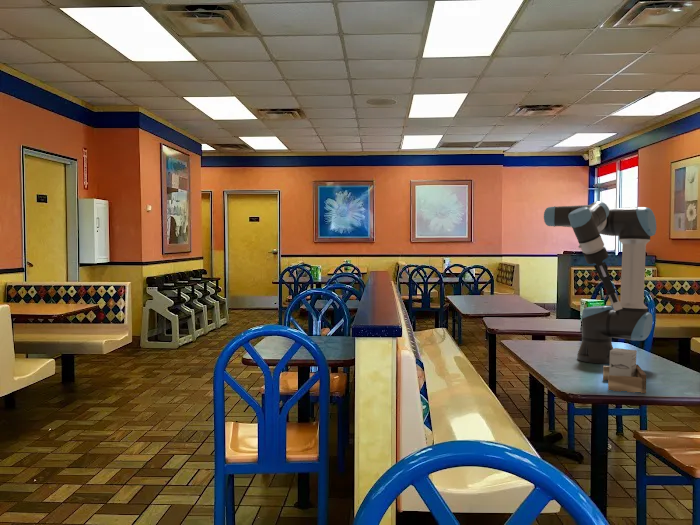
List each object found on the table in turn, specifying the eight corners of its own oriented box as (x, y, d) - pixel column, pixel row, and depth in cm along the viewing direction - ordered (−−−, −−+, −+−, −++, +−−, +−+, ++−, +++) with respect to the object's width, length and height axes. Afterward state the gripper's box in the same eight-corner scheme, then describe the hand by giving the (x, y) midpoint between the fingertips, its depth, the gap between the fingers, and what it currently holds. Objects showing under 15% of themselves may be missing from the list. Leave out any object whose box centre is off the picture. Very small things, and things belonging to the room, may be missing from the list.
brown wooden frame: (603, 379, 213) (603, 362, 213) (637, 381, 210) (637, 364, 209) (608, 390, 197) (608, 372, 197) (645, 393, 194) (646, 374, 193)
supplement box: (608, 386, 203) (608, 350, 203) (614, 381, 209) (614, 347, 209) (630, 389, 199) (631, 352, 198) (636, 385, 204) (637, 349, 204)
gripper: (581, 249, 211) (605, 306, 214) (585, 258, 199) (610, 318, 202) (602, 241, 209) (625, 299, 212) (607, 250, 197) (632, 311, 200)
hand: (618, 309), depth 207 cm, fingers closed
